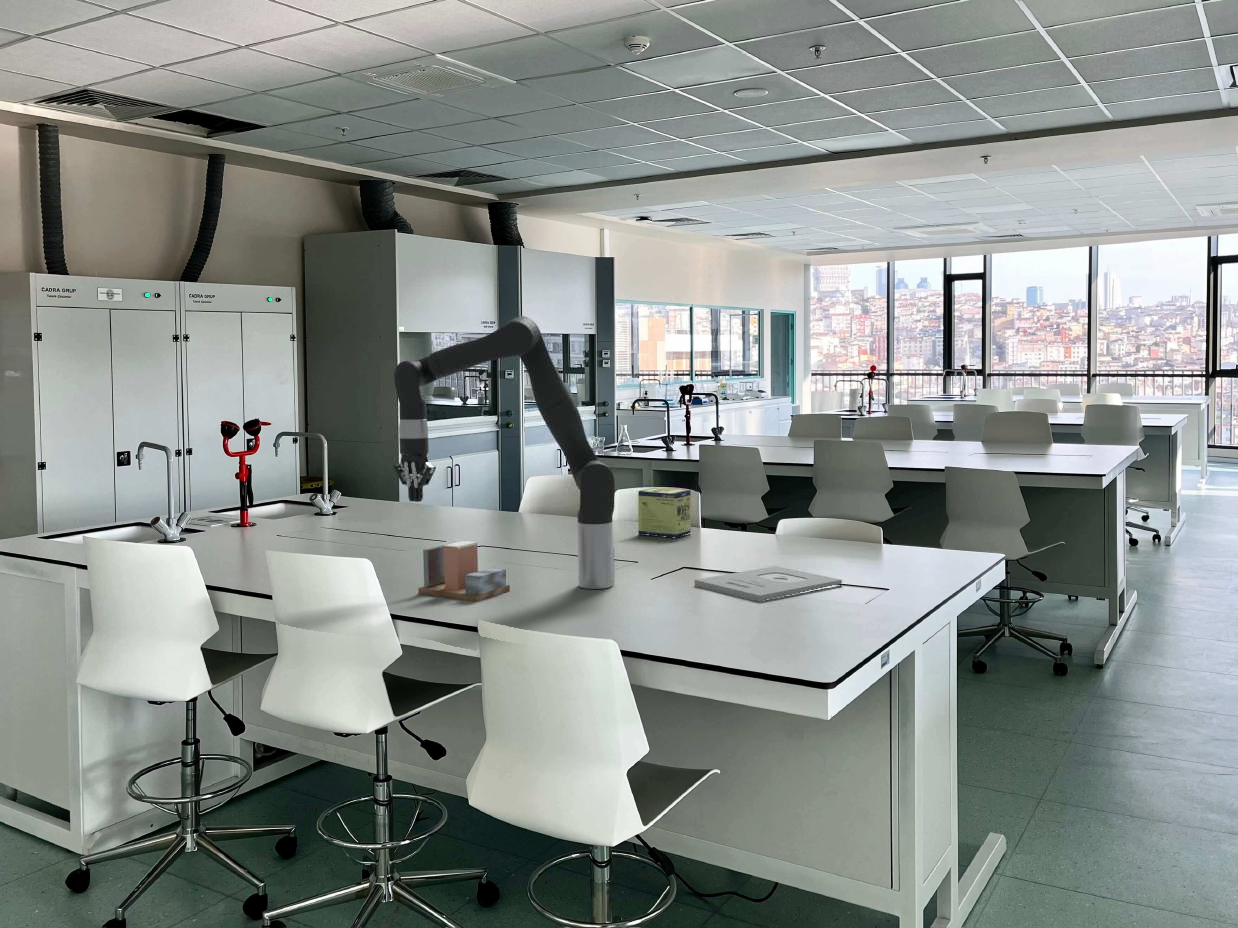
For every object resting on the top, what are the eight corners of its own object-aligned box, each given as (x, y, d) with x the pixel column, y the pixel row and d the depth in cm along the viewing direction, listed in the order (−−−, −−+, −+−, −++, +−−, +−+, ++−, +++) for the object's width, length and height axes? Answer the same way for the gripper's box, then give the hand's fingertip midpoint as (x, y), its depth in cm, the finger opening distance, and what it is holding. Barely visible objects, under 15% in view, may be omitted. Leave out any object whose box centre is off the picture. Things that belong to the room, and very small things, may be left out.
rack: (453, 583, 282) (453, 561, 281) (509, 590, 272) (509, 568, 272) (418, 593, 270) (417, 570, 270) (475, 601, 260) (475, 577, 260)
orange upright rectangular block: (464, 582, 276) (463, 540, 275) (478, 584, 274) (477, 542, 273) (444, 588, 269) (443, 545, 268) (458, 589, 267) (457, 546, 266)
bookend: (452, 578, 280) (451, 543, 279) (456, 578, 279) (455, 543, 278) (424, 585, 271) (423, 549, 270) (428, 586, 270) (427, 550, 269)
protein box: (676, 538, 352) (676, 493, 351) (637, 535, 360) (637, 490, 359) (691, 534, 361) (691, 489, 359) (653, 531, 369) (652, 487, 368)
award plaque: (694, 587, 276) (694, 579, 276) (775, 573, 294) (775, 565, 293) (759, 603, 256) (759, 595, 256) (841, 587, 274) (841, 579, 274)
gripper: (442, 436, 275) (444, 501, 277) (404, 434, 282) (406, 498, 284) (423, 437, 269) (425, 504, 271) (384, 436, 276) (386, 501, 278)
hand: (415, 501), depth 277 cm, fingers closed
